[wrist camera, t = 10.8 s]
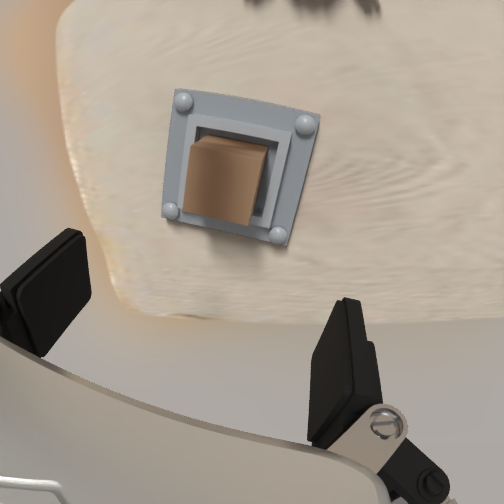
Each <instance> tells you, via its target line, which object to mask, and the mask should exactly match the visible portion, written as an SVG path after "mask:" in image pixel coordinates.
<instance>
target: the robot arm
mask: <svg viewBox="0 0 504 504" xmlns="http://www.w3.org/2000/svg"><path fill="white" fill-rule="evenodd" d="M86 250H87V249H86V239H85V237H84V236H83V234H82V232H81V231H78V230H75V229H71V228H67V229H65V230H64V231H63V232H61V233H60V234H59V235H58V236H56V237H55V238H54V239H52V240H51V241H50V242H49V243H48V244H46V245H45V246H44V247H43V248H41V249H40V250H39V251H38V252H36V253H35V254H34V255H33V256H32V257H30V258H29V259H28V260H27V261H26V262H25V263H24V264H22V265H21V266H20V267H19V268H18V269H17V270H15V271H14V272H13V273H12V274H11V275H10V276H9V277H8V278H6V279H5V280H4V281H3V282H2V283H1V284H0V288H1V292H0V504H457V502H456V501H455V499H452V500H450V498H449V497H448V494H449V490H450V484H449V479H448V477H447V475H446V474H445V473H444V471H443V470H442V469H440V468H439V467H438V466H437V465H436V464H435V463H434V462H432V461H431V460H430V459H429V458H428V457H427V456H426V455H425V454H424V453H423V452H421V451H420V450H419V449H418V448H417V447H416V446H415V445H414V444H413V443H412V442H410V441H409V440H408V439H407V438H406V435H407V431H408V425H407V421H406V419H405V417H404V415H403V414H402V413H401V412H400V411H399V410H398V409H397V408H395V407H393V406H391V405H387V404H383V399H382V392H381V385H380V378H379V371H378V365H377V358H376V352H375V346H374V344H373V342H371V341H367V337H366V332H365V325H364V319H363V313H362V307H361V302H360V301H359V300H354V299H350V298H346V297H344V298H343V299H342V301H340V300H337V301H336V303H335V306H334V308H333V310H332V312H331V315H330V317H329V319H328V322H327V324H326V326H325V328H324V331H323V333H322V335H321V337H320V339H319V342H318V344H317V346H316V348H315V350H314V352H313V355H312V360H311V380H310V400H309V418H308V433H307V440H308V441H310V442H312V446H309V445H304V444H299V443H295V442H290V441H285V440H280V439H275V438H270V437H265V436H260V435H256V434H252V433H248V432H243V431H239V430H235V429H231V428H227V427H223V426H219V425H215V424H211V423H207V422H204V421H200V420H197V419H193V418H190V417H187V416H183V415H180V414H177V413H173V412H170V411H167V410H164V409H161V408H158V407H155V406H152V405H150V404H146V403H144V402H141V401H138V400H135V399H133V398H130V397H127V396H125V395H122V394H120V393H117V392H114V391H112V390H109V389H107V388H104V387H102V386H100V385H97V384H95V383H93V382H90V381H88V380H85V379H83V378H81V377H79V376H77V375H75V374H72V373H70V372H68V371H66V370H64V369H62V368H59V367H57V366H55V365H53V364H51V363H49V362H47V361H45V360H43V359H41V357H44V356H45V355H46V354H47V353H48V352H49V350H50V349H51V348H52V346H53V345H54V344H55V342H56V341H57V340H58V339H59V337H60V336H61V335H62V334H63V332H64V331H65V330H66V328H67V327H68V326H69V325H70V323H71V322H72V321H73V320H74V318H75V317H76V316H77V314H78V313H79V312H80V311H81V310H82V308H83V307H84V306H85V305H86V304H87V303H88V301H89V300H90V298H91V284H90V277H89V268H88V260H87V251H86Z"/></svg>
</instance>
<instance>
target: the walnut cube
mask: <svg viewBox="0 0 504 504" xmlns="http://www.w3.org/2000/svg"><path fill="white" fill-rule="evenodd" d="M268 147H269V146H265V145H261V144H256V143H251V142H247V141H242V140H237V139H232V138H227V137H221V136H216V135H211V134H209V135H207V136H205V137H204V138H202V139H201V140H199V141H197V142H196V143H194V144H192V145H191V146H190V153H189V161H188V168H187V176H186V184H185V192H184V201H183V210H182V211H185V212H190V213H194V214H198V215H203V216H207V217H212V218H216V219H220V220H225V221H229V222H233V223H237V224H242V225H246V226H248V225H249V222H250V219H251V216H252V213H253V210H254V208H255V205H256V202H257V197H258V193H259V188H260V183H261V179H262V174H263V170H264V165H265V161H266V156H267V152H268Z"/></svg>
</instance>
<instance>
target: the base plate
mask: <svg viewBox="0 0 504 504" xmlns="http://www.w3.org/2000/svg"><path fill="white" fill-rule="evenodd" d="M319 119H320V115H319V114H316V113H312V112H308V111H304V110H299V109H295V108H291V107H287V106H282V105H277V104H273V103H268V102H263V101H258V100H253V99H247V98H242V97H236V96H230V95H224V94H217V93H211V92H203V91H196V90H188V89H175V92H174V99H173V106H172V113H171V121H170V129H169V137H168V145H167V155H166V164H165V174H164V186H163V198H162V211H161V217H163V218H166V219H169V220H176V221H180V222H185V223H189V224H194V225H198V226H203V227H207V228H211V229H216V230H220V231H224V232H229V233H233V234H237V235H242V236H246V237H250V238H255V239H259V240H263V241H267V242H272V243H274V244H280V245H284V246H287V242H288V238H289V235H290V231H291V228H292V224H293V220H294V216H295V213H296V209H297V205H298V202H299V198H300V194H301V190H302V186H303V183H304V179H305V175H306V171H307V167H308V163H309V159H310V155H311V152H312V148H313V144H314V140H315V136H316V132H317V128H318V124H319ZM209 134H211V135H216V136H221V137H227V138H232V139H237V140H242V141H247V142H251V143H256V144H261V145H265V146H269V147H268V152H267V156H266V161H265V165H264V170H263V174H262V179H261V183H260V188H259V193H258V197H257V202H256V205H255V208H254V210H253V213H252V216H251V219H250V222H249V225H248V226H246V225H242V224H237V223H233V222H229V221H225V220H220V219H216V218H212V217H207V216H203V215H198V214H194V213H190V212H185V211H182V210H183V201H184V192H185V184H186V176H187V168H188V161H189V153H190V146H191V145H192V144H194V143H196V142H197V141H199V140H201V139H202V138H204V137H205V136H207V135H209Z"/></svg>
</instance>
